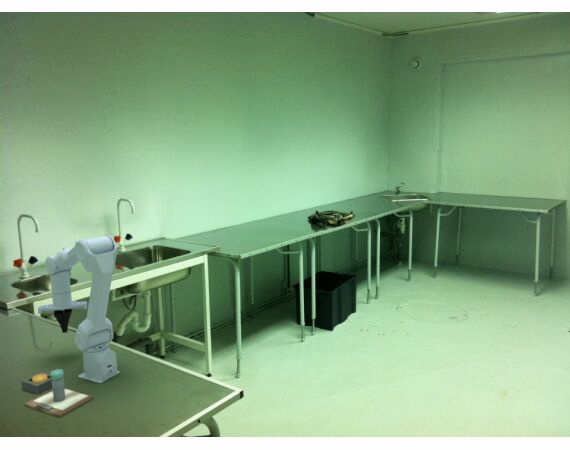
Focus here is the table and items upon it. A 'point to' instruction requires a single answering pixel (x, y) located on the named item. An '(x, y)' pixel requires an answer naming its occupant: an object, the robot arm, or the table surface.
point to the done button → (39, 378)
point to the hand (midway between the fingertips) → (65, 331)
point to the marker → (58, 385)
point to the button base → (37, 384)
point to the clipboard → (62, 407)
